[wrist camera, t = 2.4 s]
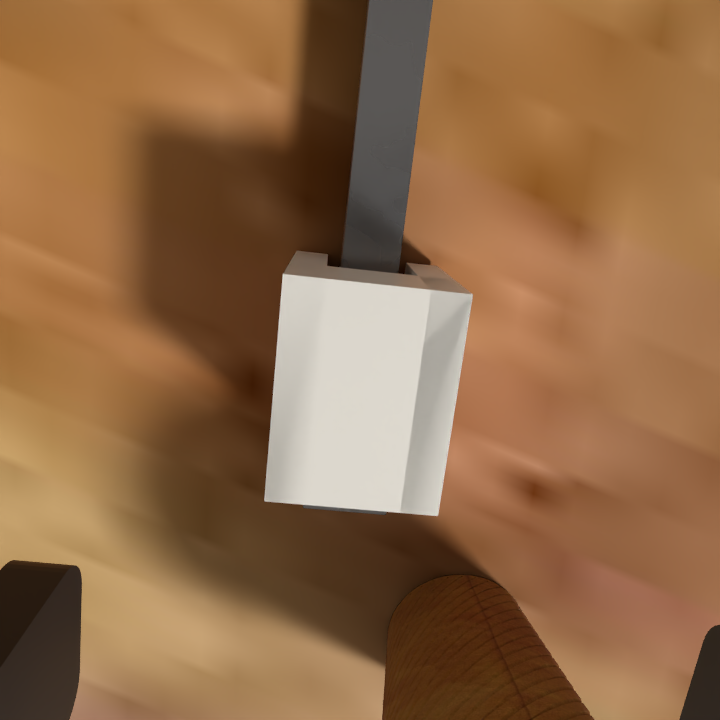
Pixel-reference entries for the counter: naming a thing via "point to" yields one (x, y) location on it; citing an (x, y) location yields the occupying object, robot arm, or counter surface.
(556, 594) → the counter surface
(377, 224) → the rail
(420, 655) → the disposable coffee cup
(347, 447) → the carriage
